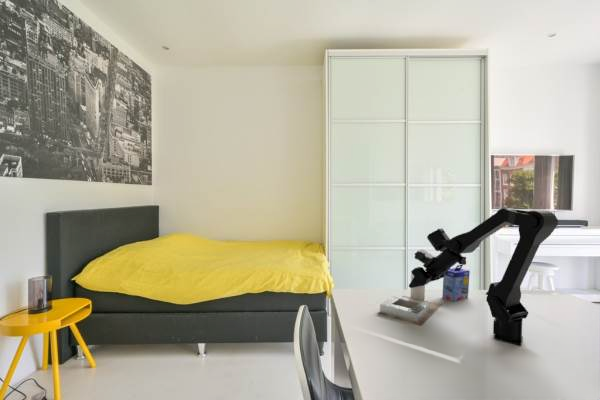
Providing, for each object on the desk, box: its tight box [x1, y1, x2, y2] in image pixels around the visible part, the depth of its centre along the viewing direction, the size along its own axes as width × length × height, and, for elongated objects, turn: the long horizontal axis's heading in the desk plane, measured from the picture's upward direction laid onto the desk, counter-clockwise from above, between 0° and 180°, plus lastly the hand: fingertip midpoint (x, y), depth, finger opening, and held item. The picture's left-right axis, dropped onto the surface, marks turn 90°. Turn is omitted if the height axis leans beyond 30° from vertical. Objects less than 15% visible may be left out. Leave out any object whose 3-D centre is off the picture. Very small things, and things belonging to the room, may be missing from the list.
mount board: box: [376, 295, 443, 327], centre depth 111 cm, size 15×25×1 cm, turn 141°
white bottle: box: [410, 272, 426, 302], centre depth 118 cm, size 5×5×13 cm
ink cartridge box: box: [441, 264, 471, 302], centre depth 124 cm, size 10×6×14 cm, turn 120°
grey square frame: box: [379, 294, 430, 323], centre depth 108 cm, size 13×13×3 cm
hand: (414, 284), depth 119 cm, fingers open, 7 cm apart
